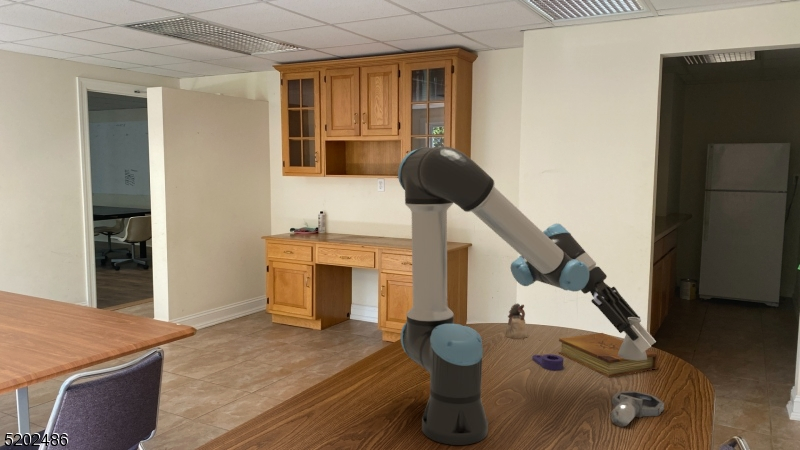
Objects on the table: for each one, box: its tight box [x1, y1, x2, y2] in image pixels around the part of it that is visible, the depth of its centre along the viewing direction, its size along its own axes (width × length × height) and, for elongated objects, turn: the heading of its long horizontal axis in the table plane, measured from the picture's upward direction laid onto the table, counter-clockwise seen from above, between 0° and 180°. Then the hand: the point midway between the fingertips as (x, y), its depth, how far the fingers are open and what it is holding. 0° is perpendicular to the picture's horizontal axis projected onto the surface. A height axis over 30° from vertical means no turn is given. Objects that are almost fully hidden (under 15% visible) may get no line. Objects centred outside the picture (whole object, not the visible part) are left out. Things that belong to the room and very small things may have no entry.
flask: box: [618, 317, 647, 361], centre depth 146 cm, size 7×7×10 cm
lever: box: [531, 353, 564, 372], centre depth 178 cm, size 12×6×3 cm, turn 23°
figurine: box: [505, 302, 528, 340], centre depth 207 cm, size 7×7×12 cm
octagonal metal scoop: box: [610, 390, 665, 428], centre depth 144 cm, size 20×11×4 cm, turn 142°
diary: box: [557, 332, 659, 378], centre depth 182 cm, size 23×19×6 cm
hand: (649, 347), depth 144 cm, fingers closed on flask, 4 cm apart
